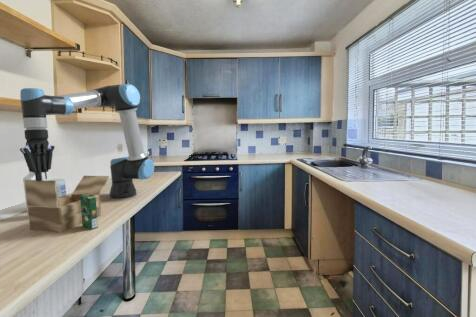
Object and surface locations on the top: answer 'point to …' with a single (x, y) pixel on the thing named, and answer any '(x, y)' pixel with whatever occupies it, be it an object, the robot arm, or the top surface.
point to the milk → (29, 177)
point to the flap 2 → (91, 184)
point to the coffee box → (89, 211)
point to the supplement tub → (60, 187)
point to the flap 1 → (41, 193)
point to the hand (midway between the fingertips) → (42, 188)
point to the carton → (60, 214)
